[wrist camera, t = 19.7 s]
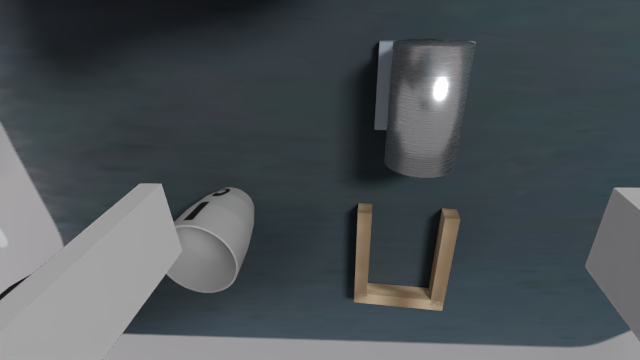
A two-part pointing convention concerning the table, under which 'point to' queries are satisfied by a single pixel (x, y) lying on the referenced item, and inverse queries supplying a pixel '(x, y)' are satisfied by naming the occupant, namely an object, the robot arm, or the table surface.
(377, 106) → the v block
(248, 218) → the cup
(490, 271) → the table surface
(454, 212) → the wooden flat frame
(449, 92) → the grey metal cylinder
